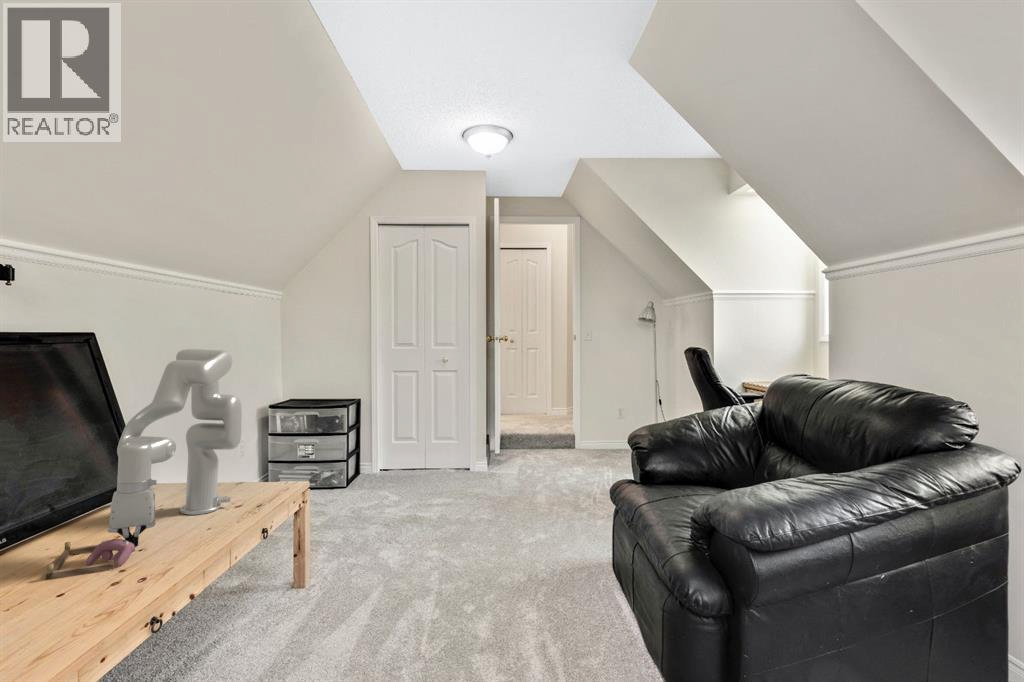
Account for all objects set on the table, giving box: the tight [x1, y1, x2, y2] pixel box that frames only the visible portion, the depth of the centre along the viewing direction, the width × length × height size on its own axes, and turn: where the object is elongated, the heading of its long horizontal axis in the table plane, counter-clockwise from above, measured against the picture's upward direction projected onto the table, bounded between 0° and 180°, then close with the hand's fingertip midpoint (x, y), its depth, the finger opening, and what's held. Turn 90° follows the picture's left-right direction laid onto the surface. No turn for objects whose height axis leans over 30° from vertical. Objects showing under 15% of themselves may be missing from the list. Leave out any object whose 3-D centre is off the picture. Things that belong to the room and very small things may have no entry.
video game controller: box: [85, 538, 136, 567], centre depth 132 cm, size 10×5×7 cm, turn 89°
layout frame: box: [45, 541, 115, 581], centre depth 132 cm, size 13×16×4 cm
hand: (131, 549), depth 137 cm, fingers closed
